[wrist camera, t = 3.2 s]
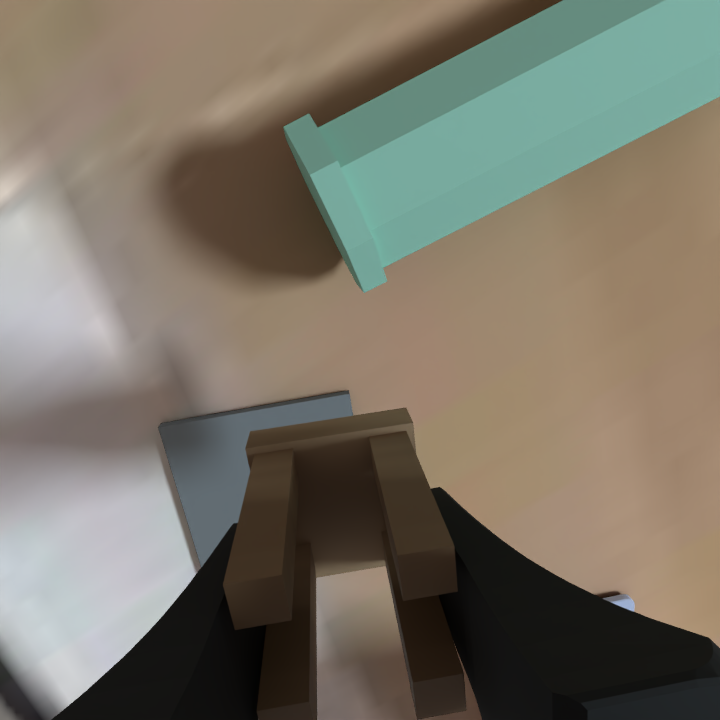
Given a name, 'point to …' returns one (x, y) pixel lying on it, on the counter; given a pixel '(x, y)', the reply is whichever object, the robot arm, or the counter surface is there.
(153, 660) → the robot arm
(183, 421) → the mat
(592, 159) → the container
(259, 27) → the counter surface
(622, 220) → the counter surface
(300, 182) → the counter surface
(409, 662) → the stool
